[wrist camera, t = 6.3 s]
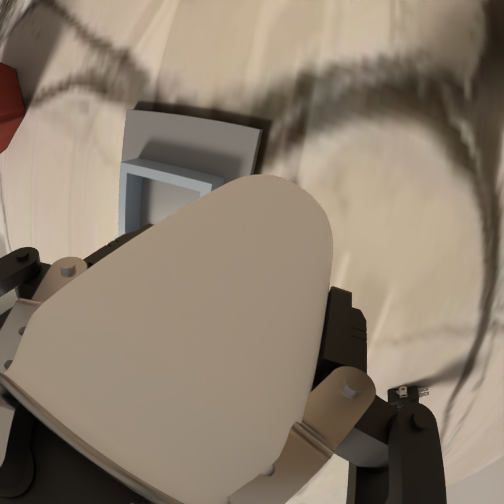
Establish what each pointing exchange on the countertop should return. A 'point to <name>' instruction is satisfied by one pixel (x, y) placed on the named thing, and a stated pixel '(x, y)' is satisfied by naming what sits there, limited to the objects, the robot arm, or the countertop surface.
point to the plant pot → (9, 105)
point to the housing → (178, 163)
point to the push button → (405, 395)
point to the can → (187, 344)
